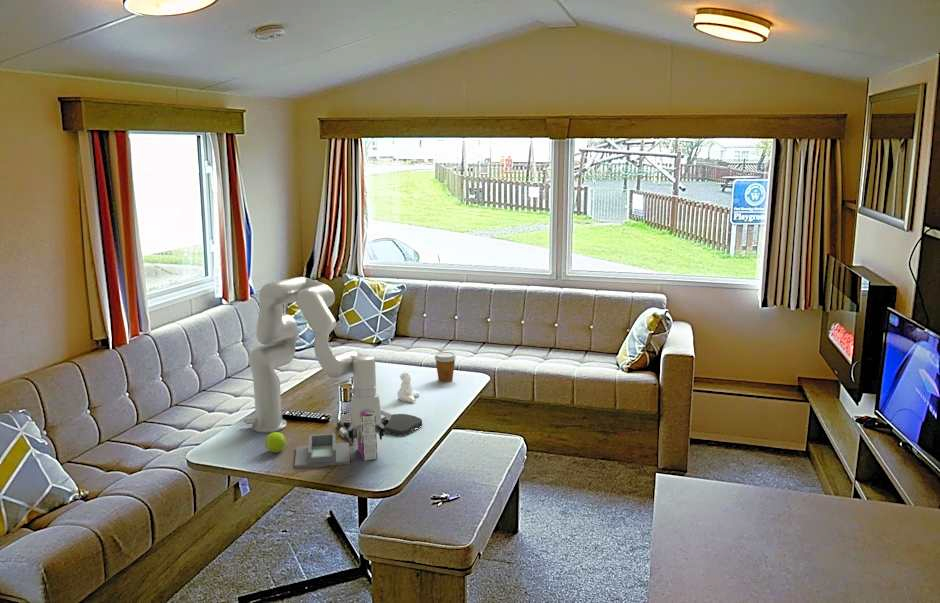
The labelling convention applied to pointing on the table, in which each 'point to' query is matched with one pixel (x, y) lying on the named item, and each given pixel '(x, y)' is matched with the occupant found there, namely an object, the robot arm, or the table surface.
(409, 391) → the sitting furry creature
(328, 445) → the dock
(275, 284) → the robot arm
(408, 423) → the media streaming box
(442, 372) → the disposable coffee cup
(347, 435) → the walkie-talkie
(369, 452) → the candy bar box
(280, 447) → the tennis ball
